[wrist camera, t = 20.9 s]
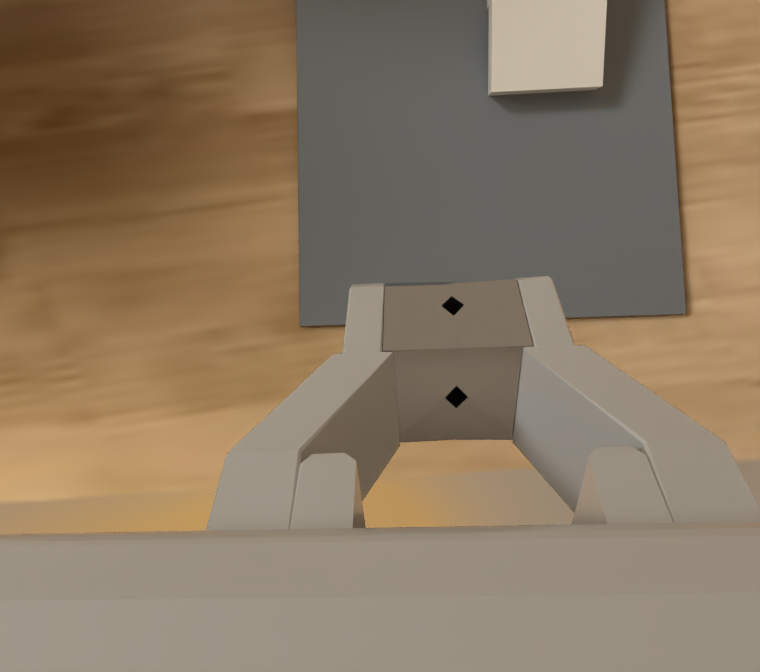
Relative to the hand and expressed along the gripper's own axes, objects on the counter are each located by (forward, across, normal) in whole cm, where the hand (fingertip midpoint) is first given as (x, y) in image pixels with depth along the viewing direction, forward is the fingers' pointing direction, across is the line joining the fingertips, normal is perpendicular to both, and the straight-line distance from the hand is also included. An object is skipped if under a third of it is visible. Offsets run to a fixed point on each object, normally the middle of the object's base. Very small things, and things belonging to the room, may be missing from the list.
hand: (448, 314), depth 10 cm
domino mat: (+29, -3, -1) cm, 29 cm away
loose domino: (+22, -6, +4) cm, 23 cm away
